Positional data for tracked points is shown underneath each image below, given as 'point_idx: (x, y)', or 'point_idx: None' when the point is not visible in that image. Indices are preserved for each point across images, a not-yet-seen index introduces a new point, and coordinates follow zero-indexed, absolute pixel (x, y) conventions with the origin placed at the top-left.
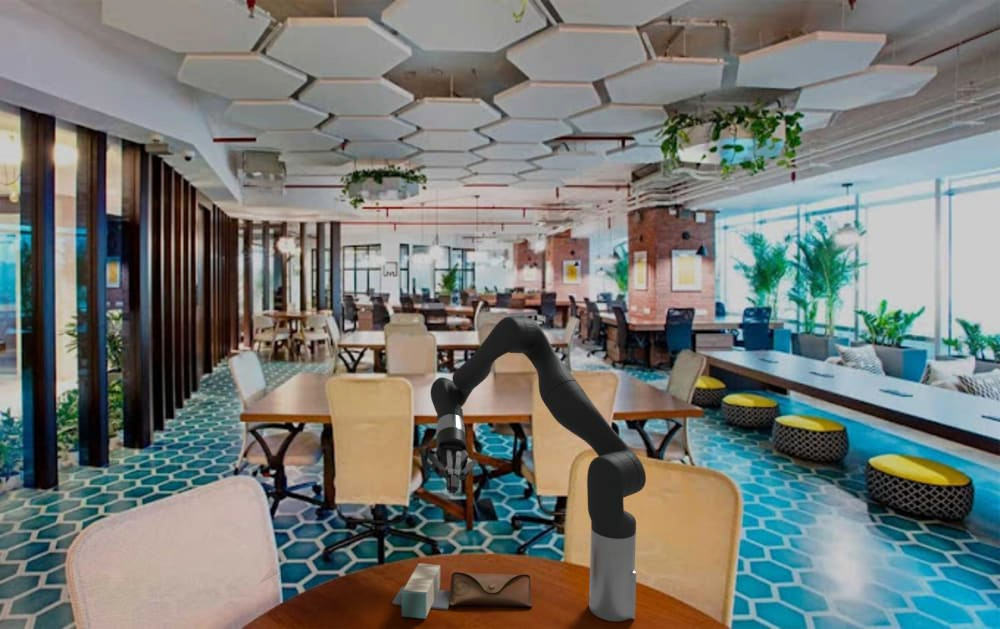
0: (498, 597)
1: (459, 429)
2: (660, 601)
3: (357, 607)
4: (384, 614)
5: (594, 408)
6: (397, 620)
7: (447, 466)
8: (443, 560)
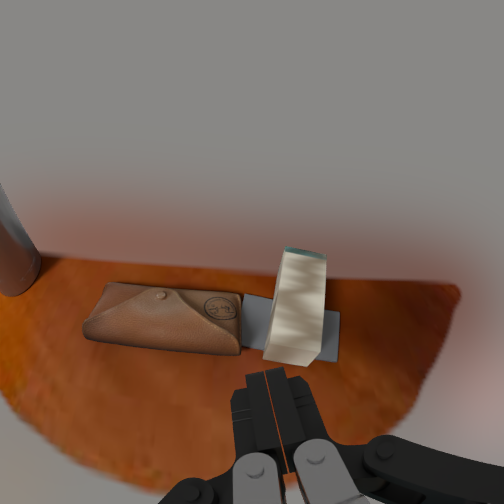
0: (154, 287)
1: None
2: None
3: (384, 307)
4: (342, 290)
5: None
6: None
7: (359, 494)
8: None
